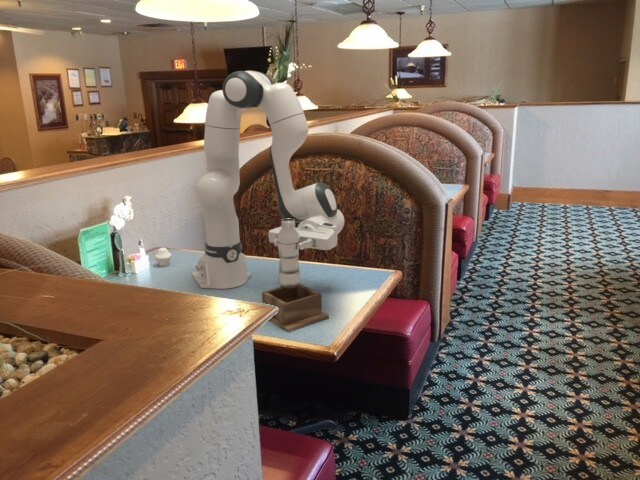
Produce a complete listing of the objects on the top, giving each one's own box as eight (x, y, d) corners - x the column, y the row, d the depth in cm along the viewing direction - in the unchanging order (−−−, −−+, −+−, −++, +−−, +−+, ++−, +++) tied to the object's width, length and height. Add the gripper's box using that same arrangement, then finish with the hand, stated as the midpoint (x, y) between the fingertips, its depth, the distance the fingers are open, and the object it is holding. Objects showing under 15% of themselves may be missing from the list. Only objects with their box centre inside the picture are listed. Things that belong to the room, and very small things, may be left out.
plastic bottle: (299, 291, 153) (298, 223, 147) (276, 290, 154) (274, 222, 148) (302, 283, 160) (302, 217, 154) (280, 282, 160) (278, 216, 154)
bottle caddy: (256, 312, 162) (255, 290, 160) (295, 300, 170) (295, 279, 168) (288, 332, 149) (287, 308, 147) (328, 318, 156) (328, 295, 154)
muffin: (172, 261, 210) (170, 244, 208) (172, 266, 205) (170, 249, 203) (155, 263, 209) (153, 246, 207) (155, 268, 203) (153, 250, 201)
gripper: (282, 219, 168) (256, 230, 156) (341, 226, 158) (318, 238, 147) (283, 238, 170) (257, 251, 158) (341, 246, 160) (319, 260, 148)
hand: (287, 245), depth 152 cm, fingers closed on plastic bottle, 6 cm apart
